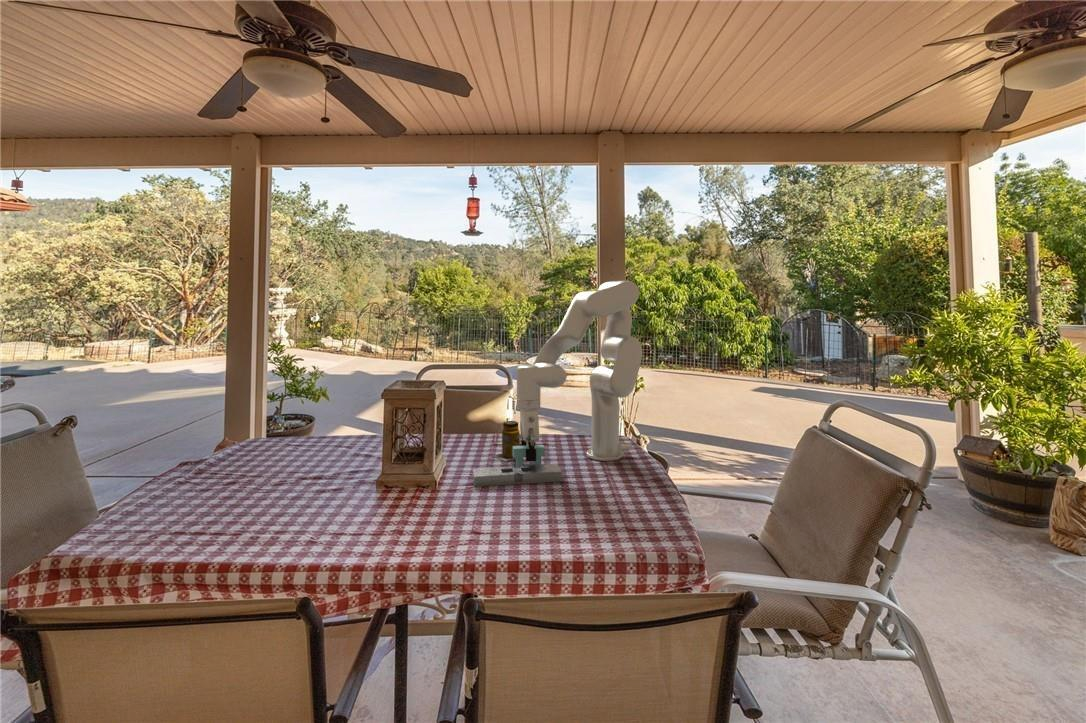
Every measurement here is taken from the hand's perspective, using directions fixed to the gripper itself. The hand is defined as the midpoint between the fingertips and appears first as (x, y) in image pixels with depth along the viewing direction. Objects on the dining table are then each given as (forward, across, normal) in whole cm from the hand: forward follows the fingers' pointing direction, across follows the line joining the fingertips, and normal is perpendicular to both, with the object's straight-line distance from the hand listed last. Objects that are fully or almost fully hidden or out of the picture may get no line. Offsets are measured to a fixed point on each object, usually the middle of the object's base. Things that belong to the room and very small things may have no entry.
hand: (528, 456), depth 159 cm
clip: (+4, 0, 0) cm, 4 cm away
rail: (+4, -10, +5) cm, 12 cm away
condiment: (+4, +13, +5) cm, 15 cm away
